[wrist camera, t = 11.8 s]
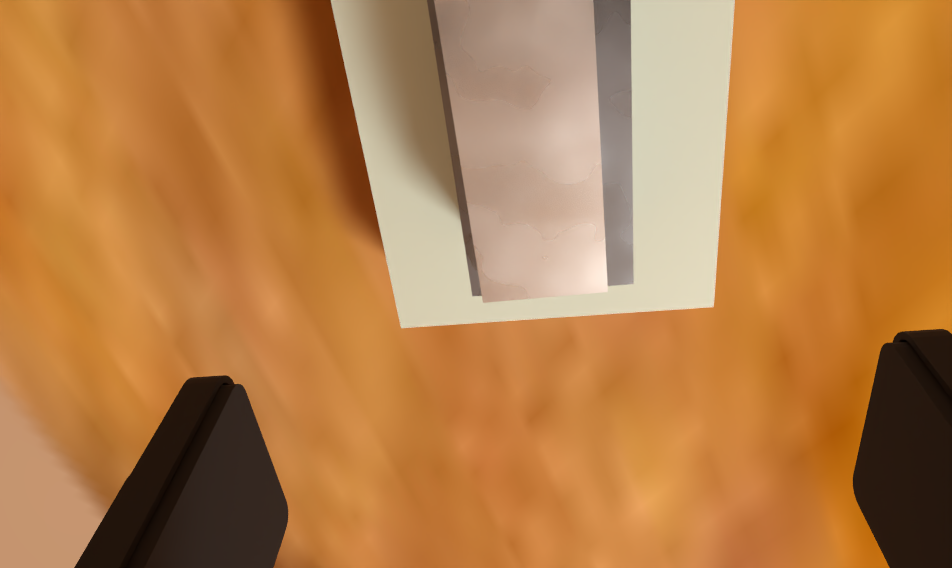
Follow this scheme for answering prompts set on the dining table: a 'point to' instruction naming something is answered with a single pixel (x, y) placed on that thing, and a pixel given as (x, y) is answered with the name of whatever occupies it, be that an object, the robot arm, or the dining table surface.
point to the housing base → (614, 138)
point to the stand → (653, 161)
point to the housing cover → (528, 142)
